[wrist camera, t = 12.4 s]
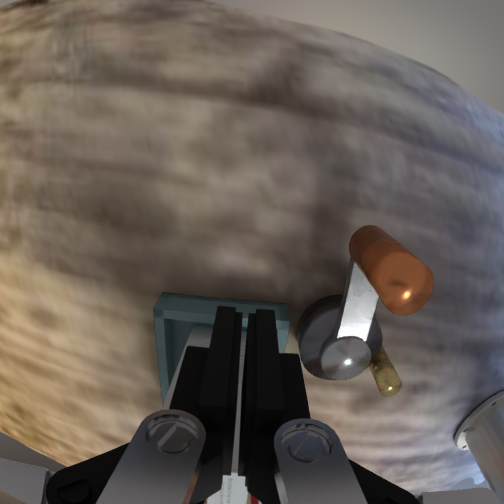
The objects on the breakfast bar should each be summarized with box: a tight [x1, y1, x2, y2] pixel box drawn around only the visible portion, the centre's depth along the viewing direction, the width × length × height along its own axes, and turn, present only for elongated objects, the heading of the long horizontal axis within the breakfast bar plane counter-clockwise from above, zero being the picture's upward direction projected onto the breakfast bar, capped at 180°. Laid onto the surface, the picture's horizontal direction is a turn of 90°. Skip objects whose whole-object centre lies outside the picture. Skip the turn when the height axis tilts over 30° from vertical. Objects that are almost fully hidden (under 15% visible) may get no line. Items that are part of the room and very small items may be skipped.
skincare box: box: [161, 325, 248, 504], centre depth 21 cm, size 8×6×15 cm
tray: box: [154, 293, 290, 404], centre depth 28 cm, size 11×13×3 cm
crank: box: [319, 225, 434, 380], centre depth 20 cm, size 12×4×7 cm, turn 175°
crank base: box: [297, 295, 402, 396], centre depth 25 cm, size 9×7×6 cm
